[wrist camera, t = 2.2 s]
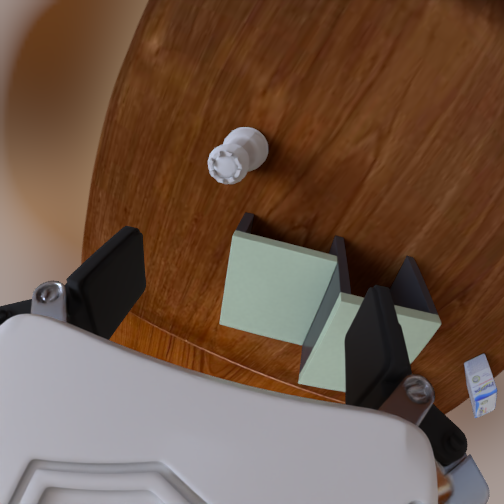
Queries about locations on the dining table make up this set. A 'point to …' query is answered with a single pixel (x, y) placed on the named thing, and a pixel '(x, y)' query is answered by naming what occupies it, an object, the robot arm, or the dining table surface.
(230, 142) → the rook chess piece
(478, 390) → the medicine box
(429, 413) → the robot arm
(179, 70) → the dining table surface
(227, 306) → the rack
